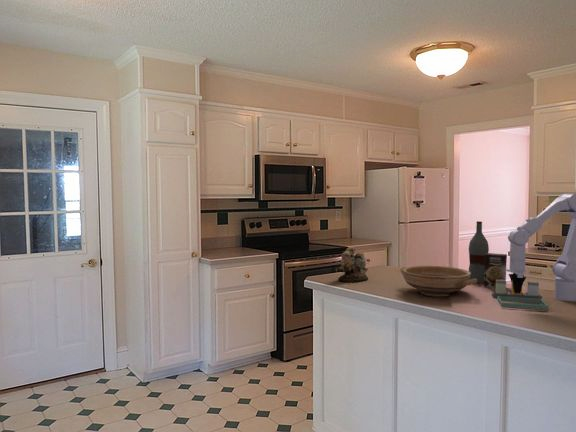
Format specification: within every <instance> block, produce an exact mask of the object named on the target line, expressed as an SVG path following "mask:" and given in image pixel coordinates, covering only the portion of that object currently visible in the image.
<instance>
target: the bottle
mask: <svg viewBox="0 0 576 432" xmlns="http://www.w3.org/2000/svg"><path fill="white" fill-rule="evenodd" d="M475 229H476V230H475V234H474V235H473V236H472V238H471V239H470V241H469V245H468V254H469V255H468V257H469V266H468V271H469V272H470V273H471V275H470V280H471V279H477V283H475V284H480V285H484V271H485V254H486V253H490V252H489V251H490V247H489V246H490V245H489V242H488V240H487V239H486V237H485V235H484V234H483V221H479V220H478V221H476V228H475Z"/></svg>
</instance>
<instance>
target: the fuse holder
mask: <svg viewBox="0 0 576 432" xmlns="http://www.w3.org/2000/svg"><path fill="white" fill-rule="evenodd" d="M497 296H502V297H518V298H534V299H542V300H543V295H541V294H540V293H538V296H532V295H527V292H522V295H516V294H511V291H506V294H499V293H496V290H492V291H491V297H492V299H496V300H497Z"/></svg>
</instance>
